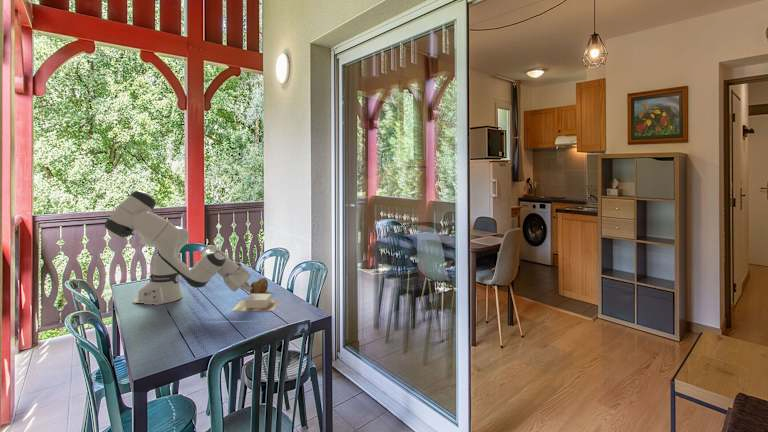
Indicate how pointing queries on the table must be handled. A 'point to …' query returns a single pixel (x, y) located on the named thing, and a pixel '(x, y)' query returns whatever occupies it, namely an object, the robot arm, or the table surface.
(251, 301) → the tile
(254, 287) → the tin
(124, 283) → the table surface
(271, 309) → the board
